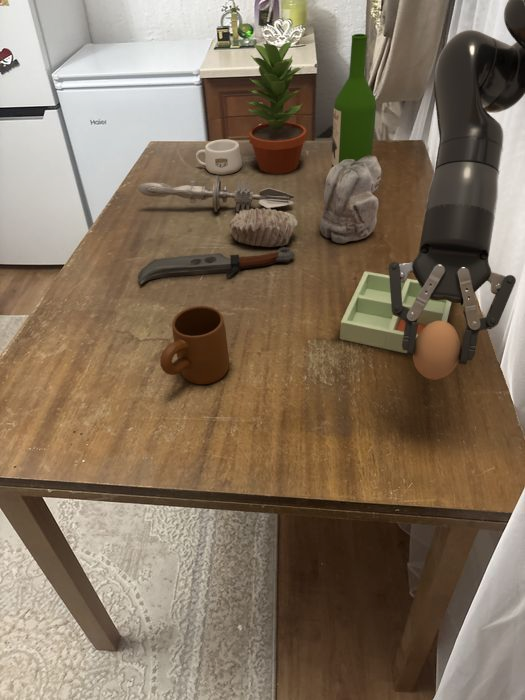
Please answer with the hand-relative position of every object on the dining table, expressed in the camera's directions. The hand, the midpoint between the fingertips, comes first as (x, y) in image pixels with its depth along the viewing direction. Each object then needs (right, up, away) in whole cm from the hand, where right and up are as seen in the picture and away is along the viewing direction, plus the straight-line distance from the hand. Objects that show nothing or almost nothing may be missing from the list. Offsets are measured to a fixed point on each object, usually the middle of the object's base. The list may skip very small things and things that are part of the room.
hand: (436, 359), depth 60 cm
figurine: (-1, +26, +52) cm, 58 cm away
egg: (+1, -2, +4) cm, 5 cm away
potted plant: (-16, +49, +81) cm, 96 cm away
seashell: (-19, +24, +52) cm, 60 cm away
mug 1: (-30, -3, +21) cm, 36 cm away
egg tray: (+3, +6, +29) cm, 30 cm away
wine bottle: (+1, +38, +67) cm, 77 cm away
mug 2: (-31, +49, +81) cm, 99 cm away
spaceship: (-30, +33, +63) cm, 77 cm away
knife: (-28, +16, +43) cm, 54 cm away
